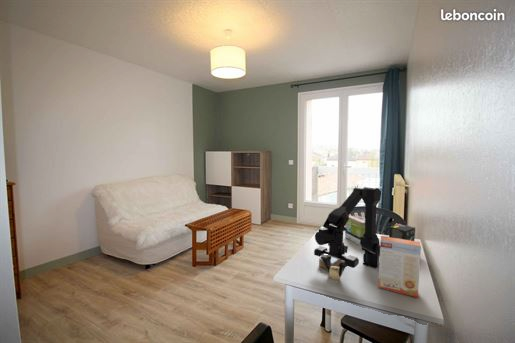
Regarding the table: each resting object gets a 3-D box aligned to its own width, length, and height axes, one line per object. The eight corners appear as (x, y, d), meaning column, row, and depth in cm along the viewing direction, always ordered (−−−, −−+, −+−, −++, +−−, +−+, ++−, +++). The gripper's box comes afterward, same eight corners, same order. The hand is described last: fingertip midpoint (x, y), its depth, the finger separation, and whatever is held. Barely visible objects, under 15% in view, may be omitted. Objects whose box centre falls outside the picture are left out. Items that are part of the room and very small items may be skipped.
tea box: (344, 237, 158) (345, 215, 157) (356, 236, 161) (357, 214, 160) (360, 246, 144) (361, 222, 143) (373, 244, 147) (374, 220, 146)
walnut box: (342, 263, 121) (343, 256, 121) (332, 271, 112) (332, 264, 112) (330, 258, 126) (330, 252, 125) (319, 266, 117) (319, 259, 117)
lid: (343, 256, 121) (343, 255, 121) (332, 264, 112) (332, 263, 112) (330, 252, 125) (330, 251, 125) (319, 259, 117) (319, 258, 117)
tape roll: (342, 277, 107) (342, 268, 107) (337, 281, 104) (337, 272, 103) (332, 273, 111) (332, 264, 110) (327, 277, 107) (327, 268, 107)
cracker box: (416, 290, 97) (420, 241, 96) (418, 298, 92) (421, 246, 90) (378, 281, 104) (381, 234, 103) (377, 287, 99) (380, 239, 98)
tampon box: (397, 246, 143) (398, 223, 142) (414, 252, 136) (415, 227, 134) (387, 250, 137) (389, 226, 136) (404, 256, 130) (406, 230, 129)
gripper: (364, 241, 105) (362, 275, 107) (325, 231, 118) (324, 261, 119) (354, 248, 97) (352, 285, 99) (314, 237, 110) (312, 269, 111)
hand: (334, 274), depth 107 cm, fingers closed on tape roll, 5 cm apart
